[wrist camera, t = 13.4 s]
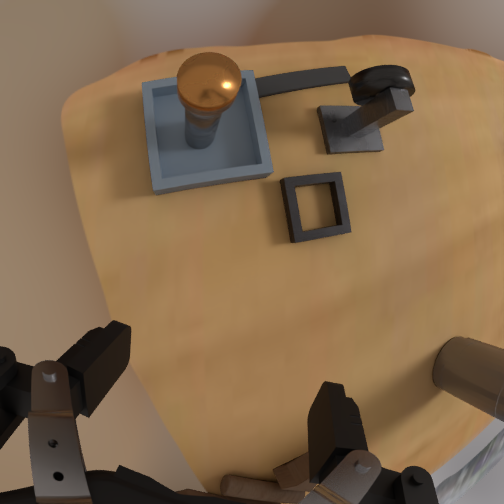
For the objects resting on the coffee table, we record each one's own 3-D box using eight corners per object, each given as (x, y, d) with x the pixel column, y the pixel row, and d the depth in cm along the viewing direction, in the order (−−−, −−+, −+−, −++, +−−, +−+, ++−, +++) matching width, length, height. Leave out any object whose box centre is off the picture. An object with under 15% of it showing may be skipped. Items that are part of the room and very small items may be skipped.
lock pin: (216, 114, 31) (236, 50, 19) (223, 151, 32) (246, 101, 19) (176, 119, 31) (174, 56, 18) (181, 157, 31) (180, 109, 18)
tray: (247, 82, 33) (253, 70, 30) (266, 177, 34) (273, 172, 31) (144, 94, 30) (141, 82, 27) (156, 195, 31) (153, 190, 28)
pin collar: (334, 174, 35) (340, 171, 34) (345, 232, 36) (351, 232, 34) (279, 180, 34) (283, 177, 33) (290, 242, 35) (295, 242, 33)
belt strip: (343, 67, 35) (345, 65, 35) (350, 82, 36) (352, 80, 35) (246, 82, 33) (247, 80, 32) (253, 99, 33) (254, 97, 32)
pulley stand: (367, 103, 36) (423, 67, 24) (379, 151, 37) (442, 126, 25) (315, 102, 35) (364, 56, 23) (327, 154, 35) (384, 122, 23)
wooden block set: (281, 539, 31) (164, 524, 27) (271, 516, 37) (164, 498, 33) (340, 468, 32) (209, 446, 28) (324, 446, 37) (205, 419, 34)
